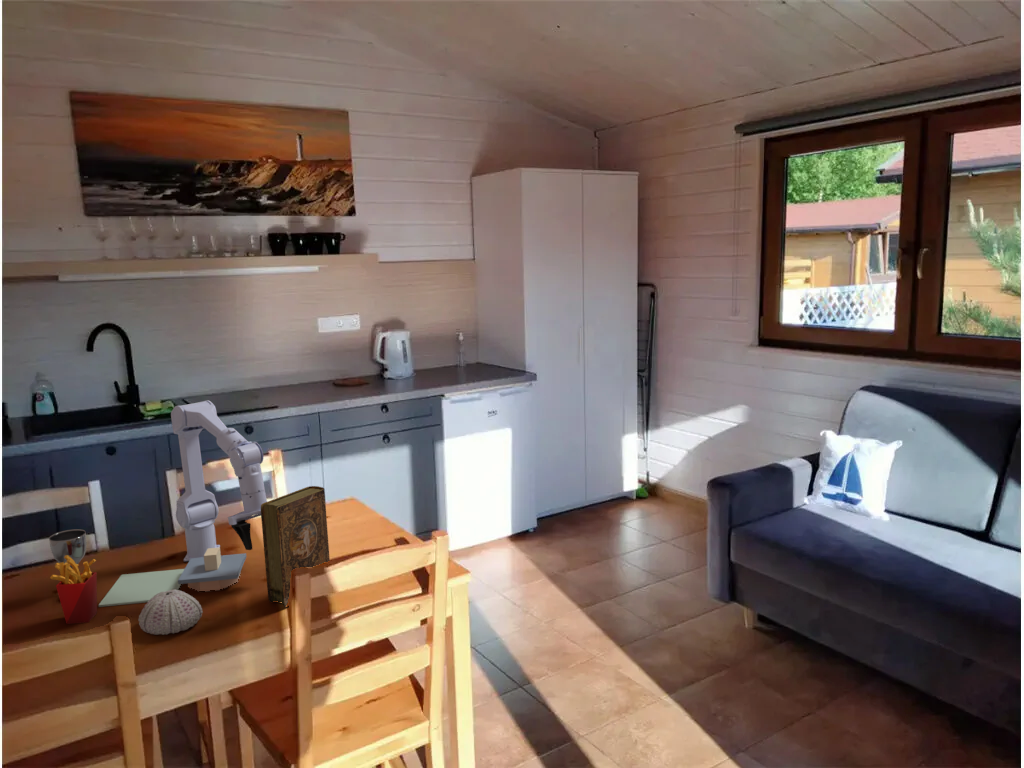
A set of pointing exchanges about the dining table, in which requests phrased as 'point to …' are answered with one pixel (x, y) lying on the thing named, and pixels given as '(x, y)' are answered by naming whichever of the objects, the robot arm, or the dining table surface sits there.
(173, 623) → the sea urchin shell
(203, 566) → the lid
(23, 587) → the dining table surface
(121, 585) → the mat
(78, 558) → the silver goblet
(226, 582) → the bowl
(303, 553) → the book
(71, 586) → the french fries
